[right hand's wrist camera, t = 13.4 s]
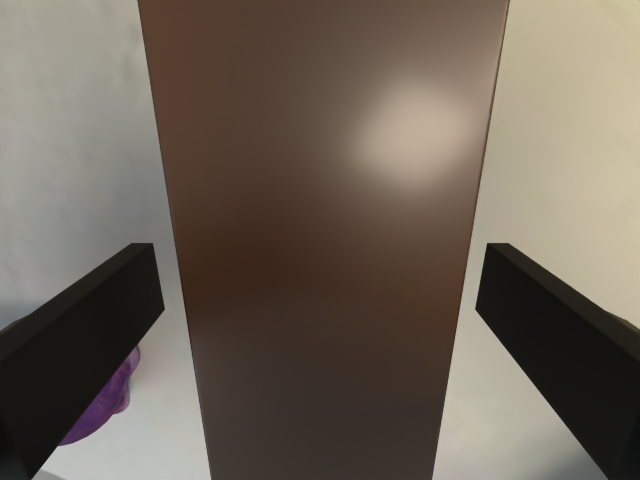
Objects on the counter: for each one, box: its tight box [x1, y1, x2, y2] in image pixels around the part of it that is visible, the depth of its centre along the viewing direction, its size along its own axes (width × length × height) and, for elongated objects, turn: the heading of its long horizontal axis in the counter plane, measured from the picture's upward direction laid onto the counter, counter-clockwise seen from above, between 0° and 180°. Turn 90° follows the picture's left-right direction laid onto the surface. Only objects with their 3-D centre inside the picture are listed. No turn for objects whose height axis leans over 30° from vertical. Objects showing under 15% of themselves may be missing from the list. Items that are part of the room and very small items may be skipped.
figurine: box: [58, 347, 139, 446], centre depth 24 cm, size 9×10×15 cm
